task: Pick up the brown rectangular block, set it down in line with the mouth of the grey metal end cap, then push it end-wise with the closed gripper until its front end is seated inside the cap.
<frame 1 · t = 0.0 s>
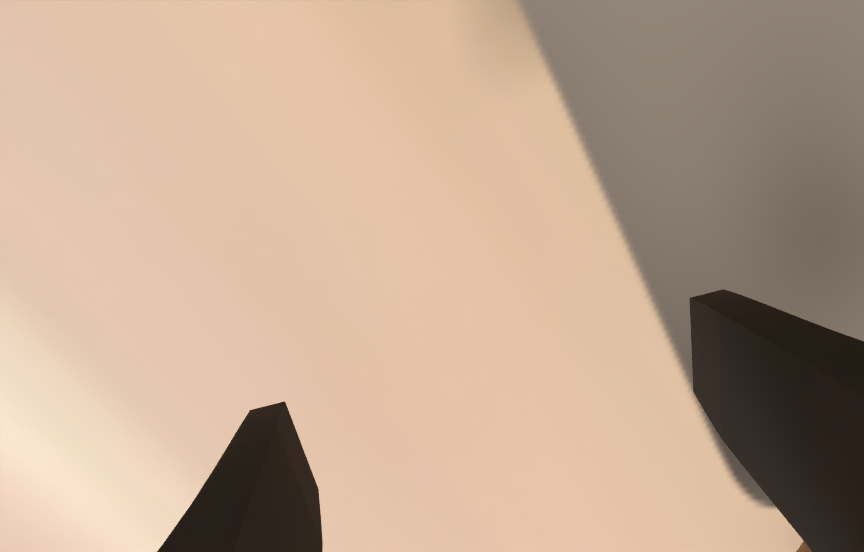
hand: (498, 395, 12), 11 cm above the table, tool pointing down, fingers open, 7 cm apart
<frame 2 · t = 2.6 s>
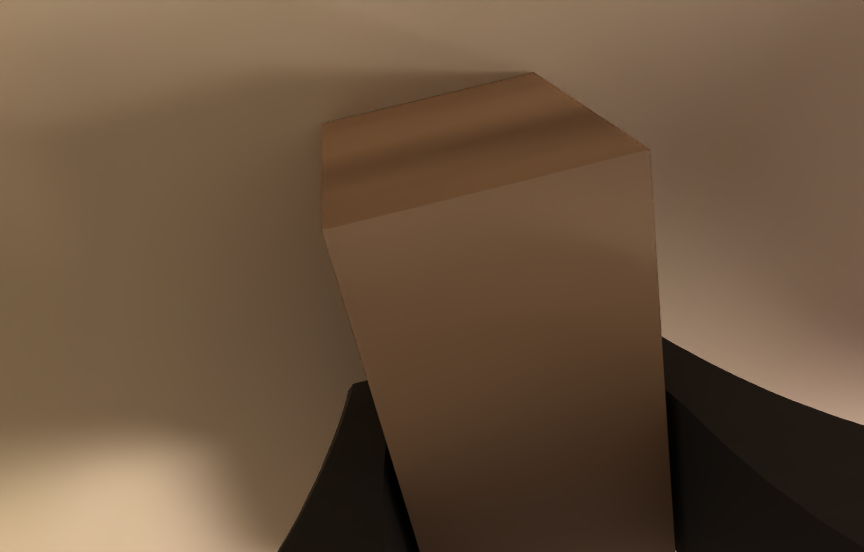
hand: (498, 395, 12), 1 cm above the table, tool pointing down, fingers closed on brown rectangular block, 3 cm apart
brown rectangular block: (481, 352, 14), on the table, touching gripper
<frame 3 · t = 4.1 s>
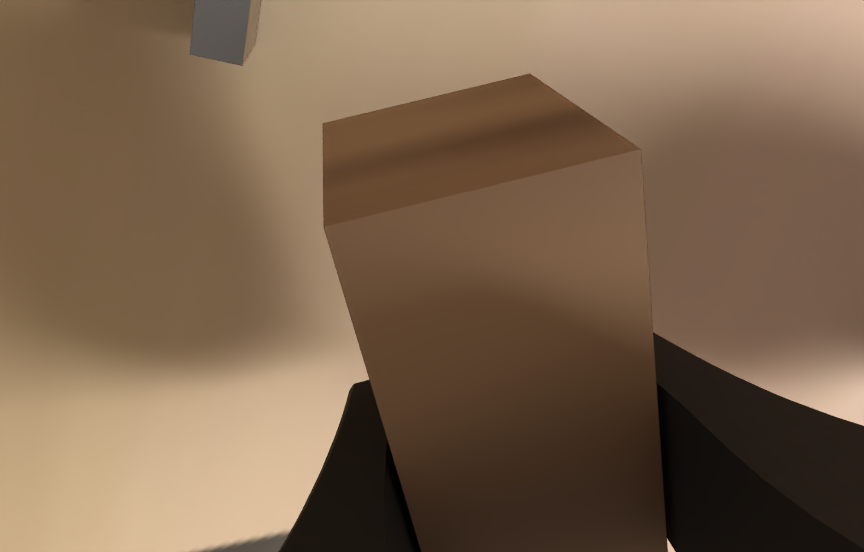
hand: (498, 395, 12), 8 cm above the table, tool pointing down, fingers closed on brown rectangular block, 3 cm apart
brown rectangular block: (478, 348, 14), point 6 cm above the table, touching gripper
when the fingers open (2 cm above the table, at t = 5.6 s): brown rectangular block stays where it is, on the table.
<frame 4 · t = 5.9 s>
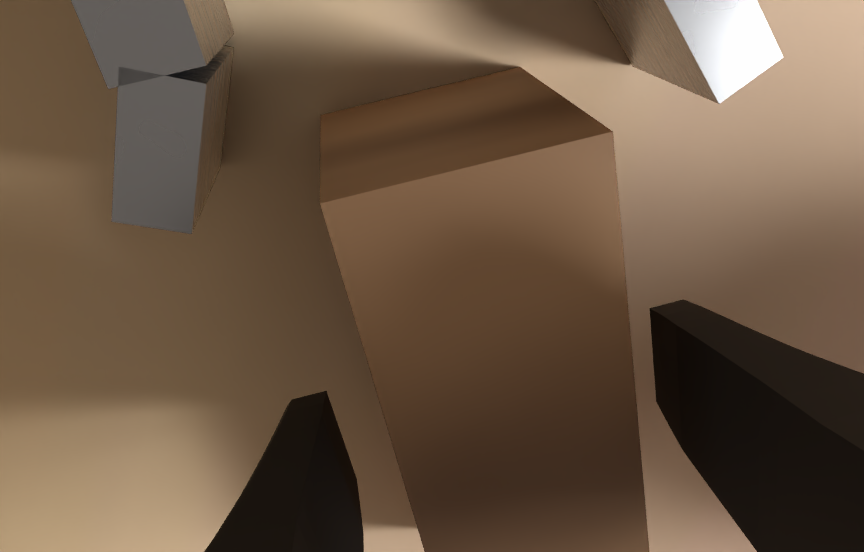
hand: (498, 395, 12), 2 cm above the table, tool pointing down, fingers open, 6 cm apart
brown rectangular block: (470, 329, 14), on the table
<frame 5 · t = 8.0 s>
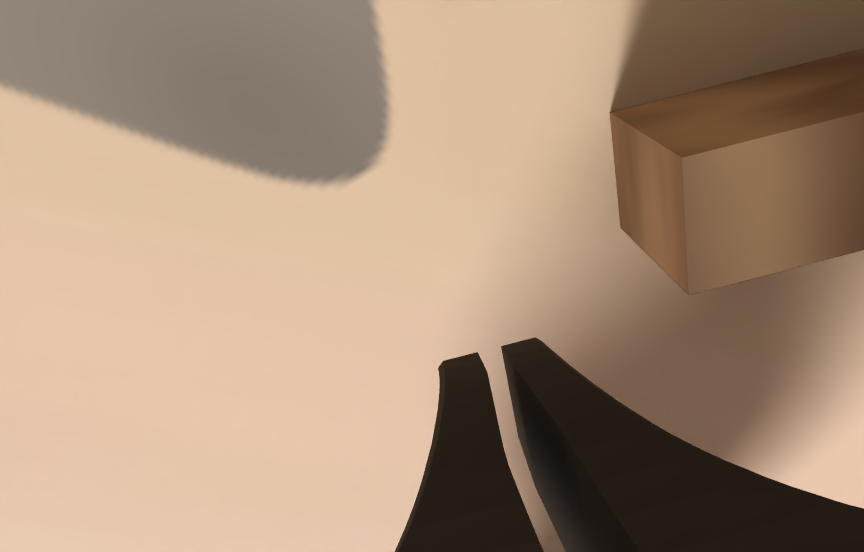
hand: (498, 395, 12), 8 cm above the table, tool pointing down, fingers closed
brown rectangular block: (780, 128, 20), on the table
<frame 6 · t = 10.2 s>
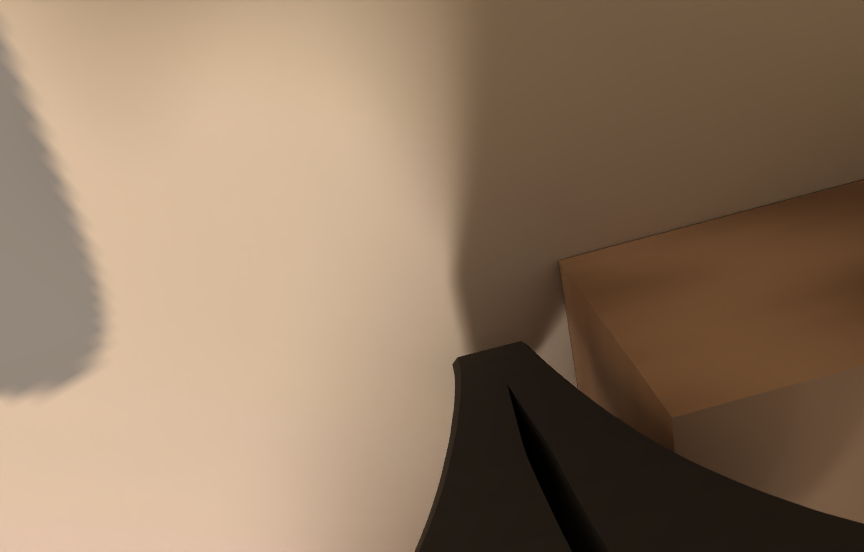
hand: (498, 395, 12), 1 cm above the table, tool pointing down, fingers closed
brown rectangular block: (824, 274, 13), on the table, touching gripper
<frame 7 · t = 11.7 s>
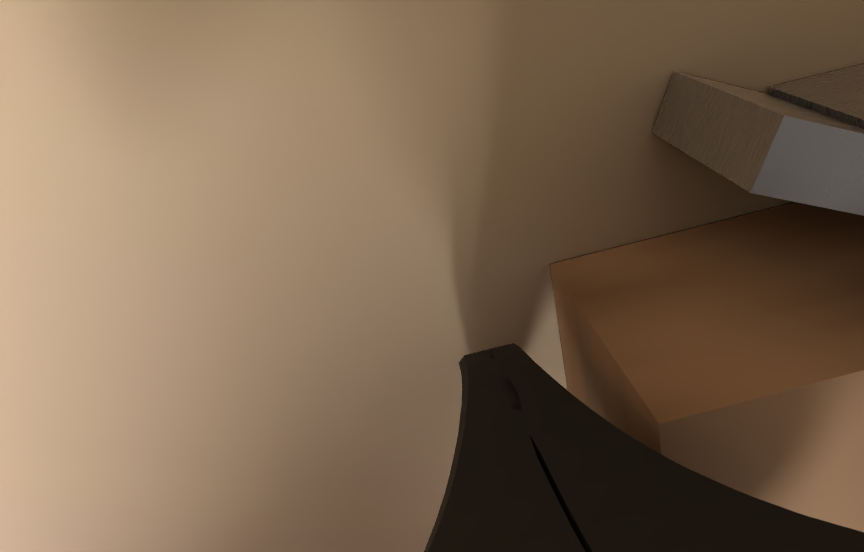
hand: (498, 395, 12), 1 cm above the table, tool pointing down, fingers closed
brown rectangular block: (815, 280, 13), on the table, touching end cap, gripper
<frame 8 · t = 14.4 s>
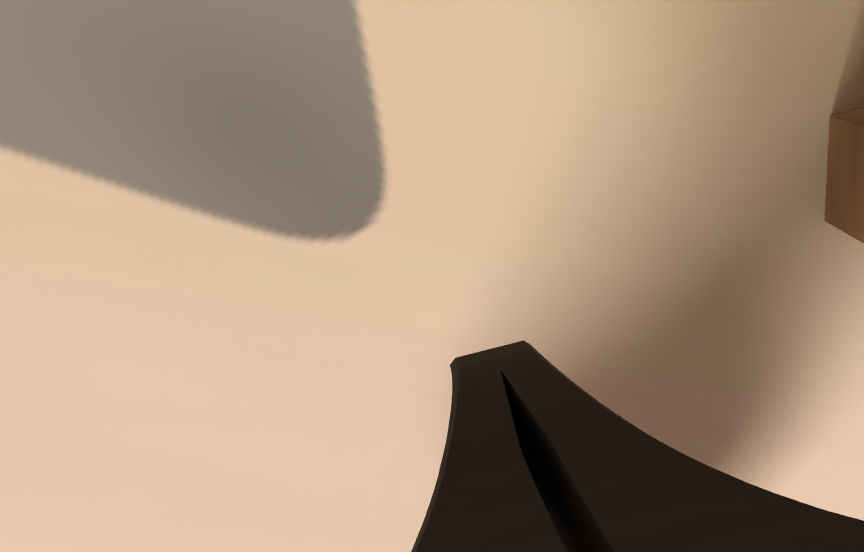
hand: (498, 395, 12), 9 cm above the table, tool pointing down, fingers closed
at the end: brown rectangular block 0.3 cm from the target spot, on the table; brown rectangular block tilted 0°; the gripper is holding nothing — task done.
